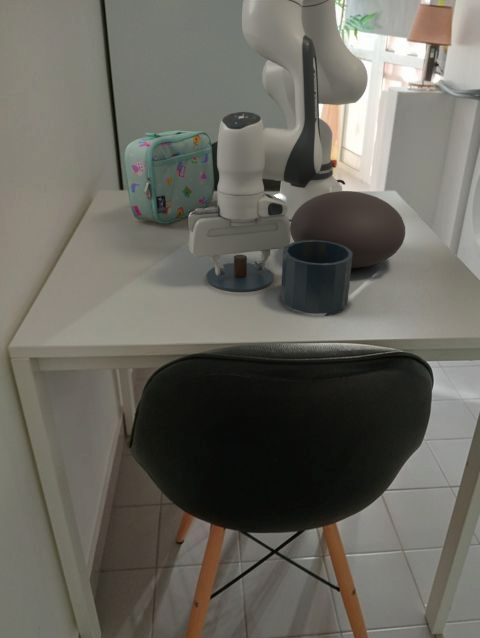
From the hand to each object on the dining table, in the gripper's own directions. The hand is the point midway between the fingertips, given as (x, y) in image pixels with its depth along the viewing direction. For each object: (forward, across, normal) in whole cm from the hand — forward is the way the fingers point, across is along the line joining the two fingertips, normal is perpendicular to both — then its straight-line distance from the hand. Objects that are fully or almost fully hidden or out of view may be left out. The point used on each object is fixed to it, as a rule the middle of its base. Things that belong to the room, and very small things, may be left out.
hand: (240, 272), depth 123 cm
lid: (+1, 0, 0) cm, 1 cm away
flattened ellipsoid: (+2, +25, +3) cm, 26 cm away
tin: (+2, +10, -13) cm, 17 cm away
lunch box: (+2, -3, +46) cm, 46 cm away
